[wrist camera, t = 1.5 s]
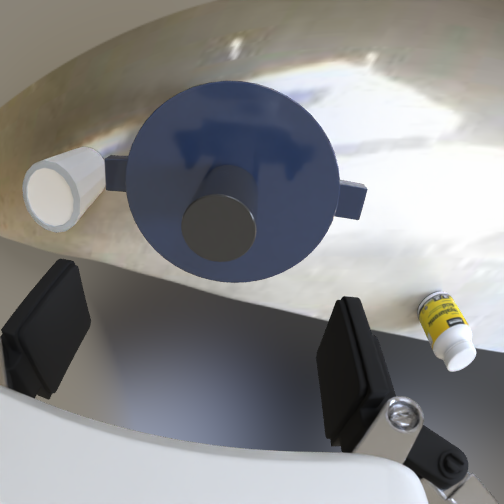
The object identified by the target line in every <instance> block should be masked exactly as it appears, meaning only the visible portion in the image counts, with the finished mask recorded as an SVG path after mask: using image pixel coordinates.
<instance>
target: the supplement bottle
mask: <svg viewBox="0 0 504 504" xmlns="http://www.w3.org/2000/svg"><path fill="white" fill-rule="evenodd" d="M418 318H419V321H420V323H421V325H422V327H423V329H424V332H425V334H426V336H427V338H428V340H429V342H430V345H431V347H432V349H433V351H434V353H435V355H436V356H437V357H438V358H440V359H443V360H444V363H445V365H446V367H447V369H448V370H449V371H458V370H460V369H462V368H464V367H466V366H467V365H468V364H470V363H471V362H472V361H473V359H474V358H475V355H476V350H475V348H474V346H473V344H472V342H471V340H472V331H471V329H470V327H469V325H468V323H467V322H466V320H465V318H464V317H463V315H462V313H461V312H460V310H459V308H458V307H457V305H456V303H455V302H454V300H453V299H452V297H451V296H450V295H449V294H448V293H446V292H442V291H441V292H436V293H433V294H431V295H429V296H428V297H427V298H425V299H424V300H423V301H422V303H421V304H420V306H419V308H418Z"/></svg>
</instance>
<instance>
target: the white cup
mask: <svg viewBox="0 0 504 504" xmlns="http://www.w3.org/2000/svg"><path fill="white" fill-rule="evenodd" d="M105 186H106V182H105V161H104V159H103V158H102V156H101V155H100V154H99V153H98V152H97V151H95V150H94V149H92V148H88V147H80V148H77V149H73V150H70V151H67V152H64V153H62V154H59V155H56V156H53V157H50V158H48V159H45V160H42V161H39V162H37V163H34V164H33V165H32V166H31V167H30V168H29V170H28V171H27V172H26V175H25V178H24V181H23V198H24V201H25V204H26V207H27V210H28V212H29V213H30V215H31V216H32V218H33V219H34V220H35V222H37V223H38V224H39V225H40V226H42V227H43V228H44V229H46V230H49V231H53V232H56V233H57V232H63V231H67V230H68V229H70V228H71V227H72V226H73V225H75V224H76V222H77V221H78V220H79V219H80V217H81V216H82V215H83V214H84V212H85V211H86V210H87V209H88V208H89V206H90V205H91V204H92V203H93V202H94V200H95V199H96V198H97V197H98V196H99V195H100V194H101V192H102V191H103V190H104V188H105Z"/></svg>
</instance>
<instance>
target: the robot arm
mask: <svg viewBox="0 0 504 504" xmlns="http://www.w3.org/2000/svg"><path fill="white" fill-rule="evenodd" d="M90 323H91V319H90V315H89V311H88V307H87V303H86V300H85V295H84V291H83V287H82V282H81V278H80V273H79V269H78V266H76V265H75V263H74V261H71V260H65V259H59V260H57V261H56V263H55V264H54V265H53V266H52V267H51V268H50V269H49V270H48V272H47V273H46V274H45V275H44V276H43V277H42V279H41V280H40V281H39V282H38V283H37V285H36V286H35V287H34V288H33V289H32V291H31V292H30V293H29V294H28V295H27V297H26V298H25V299H24V300H23V302H22V303H21V304H20V305H19V307H18V308H17V309H16V311H15V312H14V313H13V315H12V316H11V317H10V319H9V320H8V321H7V323H6V324H5V325H4V327H3V328H2V329H1V331H2V333H3V334H2V335H1V337H0V504H499V503H498V502H497V500H496V499H495V498H494V497H493V496H492V494H491V493H490V492H489V491H488V490H487V488H486V487H485V486H484V485H483V484H482V482H481V481H480V480H479V479H478V478H477V476H476V475H475V474H474V473H471V474H469V473H468V461H467V458H466V456H465V454H464V453H463V452H462V451H461V450H460V449H459V448H457V447H456V446H454V445H452V444H451V443H450V442H448V441H447V440H445V439H444V438H442V437H441V436H439V435H438V434H436V433H435V432H433V431H431V430H430V429H429V428H427V427H426V426H424V425H423V422H424V415H423V412H422V410H421V408H420V407H419V405H418V404H417V403H416V402H414V401H413V400H412V399H409V398H407V397H401V396H398V397H396V395H395V391H394V388H393V385H392V382H391V378H390V375H389V372H388V369H387V365H386V362H385V359H384V356H383V353H382V350H381V347H380V344H379V341H378V339H377V337H376V336H375V335H372V333H371V330H370V327H369V324H368V321H367V318H366V315H365V312H364V309H363V306H362V303H361V301H360V299H359V298H357V297H346V296H344V297H342V299H341V300H337V301H336V303H335V306H334V308H333V311H332V314H331V317H330V319H329V322H328V325H327V328H326V330H325V333H324V335H323V338H322V341H321V344H320V346H319V348H318V351H317V357H316V361H317V368H318V376H319V384H320V392H321V399H322V409H323V418H324V426H325V435H326V438H327V439H330V440H331V446H341V450H342V452H343V453H333V452H332V453H331V452H289V451H288V452H287V451H271V450H270V451H269V450H255V449H243V448H233V447H224V446H216V445H208V444H201V443H195V442H189V441H182V440H176V439H172V438H166V437H161V436H156V435H151V434H147V433H143V432H138V431H134V430H130V429H126V428H122V427H118V426H115V425H111V424H108V423H104V422H101V421H97V420H94V419H90V418H87V417H84V416H81V415H78V414H75V413H72V412H69V411H66V410H63V409H61V408H58V407H55V406H52V405H49V404H47V403H45V402H42V401H39V400H37V399H35V396H36V395H38V396H41V397H44V398H46V399H50V397H51V395H52V393H55V392H56V391H57V389H58V387H59V385H60V383H61V381H62V379H63V377H64V375H65V373H66V371H67V369H68V367H69V365H70V363H71V361H72V359H73V357H74V355H75V353H76V352H77V350H78V348H79V346H80V344H81V342H82V340H83V339H84V337H85V335H86V333H87V331H88V329H89V327H90Z"/></svg>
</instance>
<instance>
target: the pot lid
mask: <svg viewBox="0 0 504 504" xmlns="http://www.w3.org/2000/svg"><path fill="white" fill-rule="evenodd" d="M126 193H127V199H128V203H129V207H130V210H131V213H132V215H133V218H134V220H135V222H136V224H137V226H138V228H139V230H140V231H141V233H142V234H143V236H144V237H145V238H146V240H147V241H148V242H149V243H150V245H151V246H152V247H153V248H154V249H155V250H156V251H157V252H158V253H159V254H160V255H162V256H163V257H164V258H165V259H166V260H168V261H169V262H171V263H172V264H174V265H175V266H177V267H179V268H180V269H182V270H184V271H186V272H188V273H191V274H193V275H196V276H198V277H202V278H205V279H209V280H214V281H220V282H231V283H238V282H251V281H257V280H262V279H265V278H269V277H272V276H275V275H277V274H280V273H282V272H284V271H286V270H288V269H290V268H292V267H293V266H295V265H296V264H298V263H299V262H301V261H302V260H303V259H304V258H306V257H307V256H308V255H309V254H310V253H311V252H312V251H313V250H314V249H315V248H316V247H317V245H318V244H319V243H320V242H321V240H322V239H323V237H324V236H325V234H326V233H327V231H328V229H329V227H330V225H331V223H332V221H333V219H334V216H335V213H336V209H337V206H338V200H339V194H340V177H339V168H338V164H337V160H336V156H335V153H334V150H333V148H332V146H331V143H330V141H329V139H328V137H327V136H326V134H325V132H324V131H323V129H322V127H321V126H320V125H319V124H318V122H317V121H316V120H315V119H314V118H313V116H312V115H311V114H310V113H308V112H307V111H306V110H305V109H304V108H303V107H302V106H301V105H300V104H298V103H297V102H295V101H294V100H292V99H291V98H289V97H288V96H286V95H284V94H282V93H280V92H278V91H276V90H274V89H272V88H268V87H265V86H262V85H259V84H255V83H249V82H243V81H220V82H211V83H206V84H203V85H199V86H195V87H192V88H190V89H188V90H185V91H183V92H180V93H179V94H177V95H175V96H174V97H172V98H170V99H169V100H167V101H166V102H165V103H163V104H162V105H161V106H160V107H159V108H157V109H156V110H155V111H154V112H153V113H152V114H151V116H150V117H149V118H148V119H147V120H146V121H145V123H144V124H143V126H142V127H141V129H140V130H139V132H138V133H137V136H136V138H135V140H134V142H133V144H132V147H131V150H130V153H129V156H128V161H127V167H126Z"/></svg>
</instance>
